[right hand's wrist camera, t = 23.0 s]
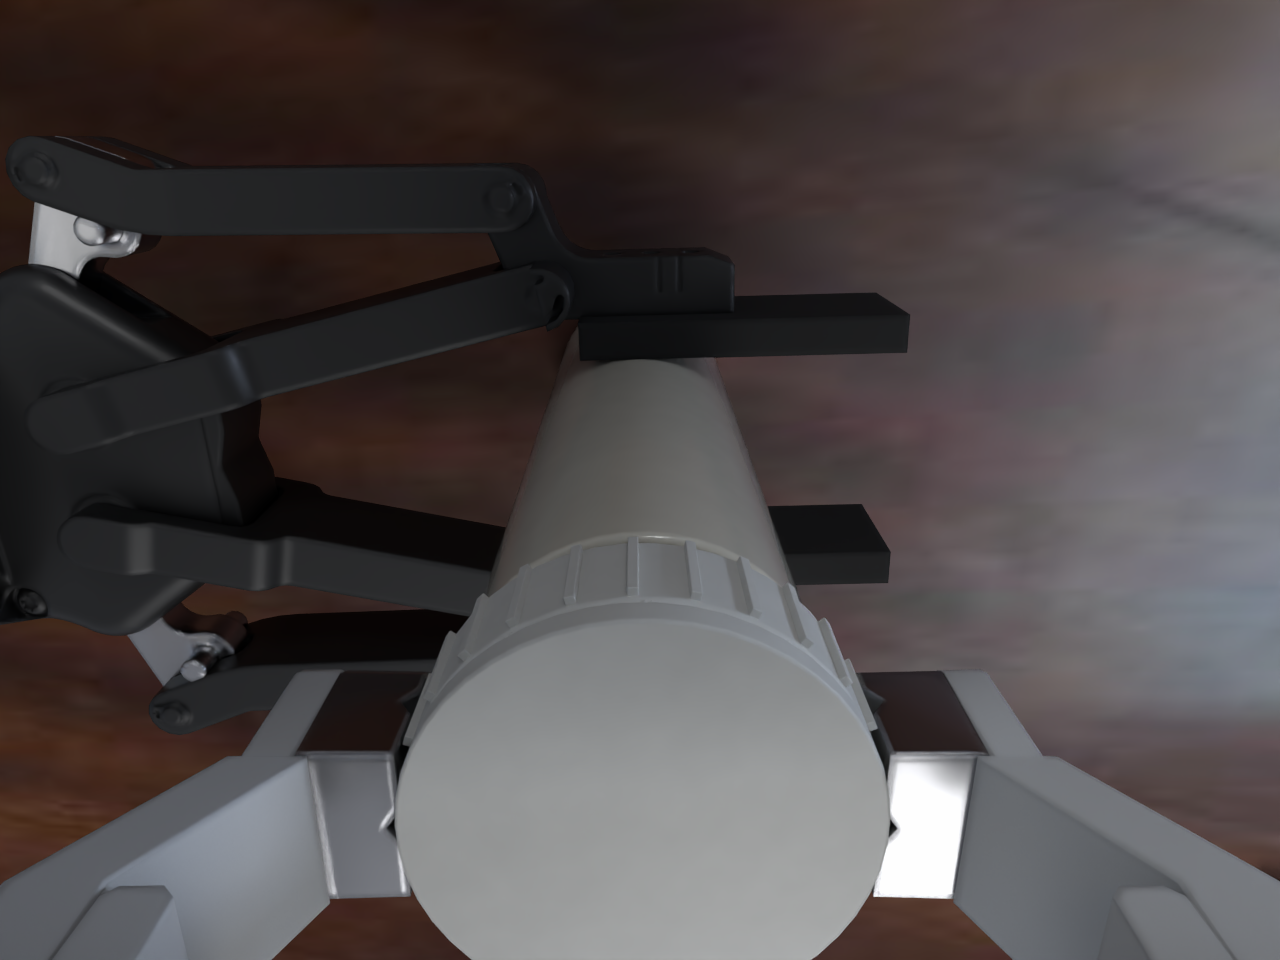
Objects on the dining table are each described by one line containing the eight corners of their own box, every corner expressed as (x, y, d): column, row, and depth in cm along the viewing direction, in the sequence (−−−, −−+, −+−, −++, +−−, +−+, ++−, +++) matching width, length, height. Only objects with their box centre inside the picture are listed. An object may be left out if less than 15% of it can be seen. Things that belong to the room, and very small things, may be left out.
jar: (719, 438, 26) (853, 919, 10) (572, 452, 26) (471, 948, 10) (709, 288, 25) (847, 576, 9) (552, 304, 25) (396, 615, 9)
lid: (364, 813, 11) (317, 929, 9) (527, 458, 9) (504, 525, 7) (732, 945, 11) (747, 1073, 10) (943, 639, 10) (1001, 735, 8)
